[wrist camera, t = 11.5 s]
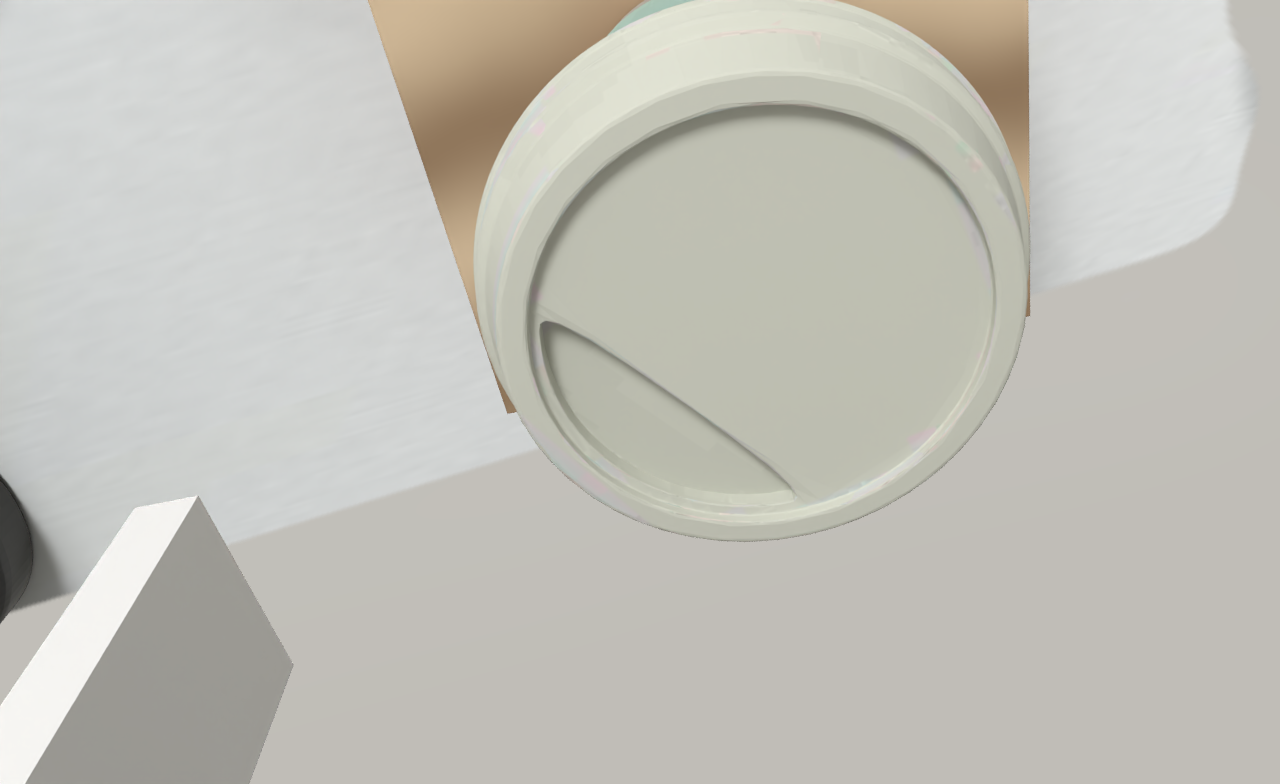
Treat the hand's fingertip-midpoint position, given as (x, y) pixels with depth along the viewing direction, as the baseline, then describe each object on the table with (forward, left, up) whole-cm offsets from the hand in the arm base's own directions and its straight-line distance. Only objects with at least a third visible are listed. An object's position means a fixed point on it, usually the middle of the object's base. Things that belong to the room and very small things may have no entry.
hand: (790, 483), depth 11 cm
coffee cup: (0, 0, -16) cm, 16 cm away
